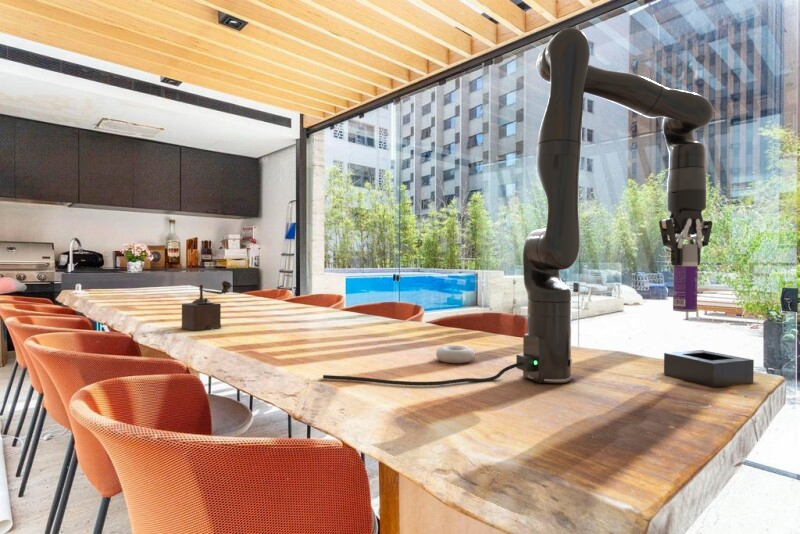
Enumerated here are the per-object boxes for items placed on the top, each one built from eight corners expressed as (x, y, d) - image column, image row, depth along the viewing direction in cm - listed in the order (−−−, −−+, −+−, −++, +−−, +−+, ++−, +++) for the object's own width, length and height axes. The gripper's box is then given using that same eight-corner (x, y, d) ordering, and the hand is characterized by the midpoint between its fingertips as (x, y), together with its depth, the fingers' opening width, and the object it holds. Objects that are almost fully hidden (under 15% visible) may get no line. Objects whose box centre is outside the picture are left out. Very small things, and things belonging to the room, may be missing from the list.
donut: (464, 367, 117) (480, 359, 126) (464, 353, 117) (480, 346, 126) (429, 362, 123) (446, 355, 131) (428, 348, 123) (446, 342, 131)
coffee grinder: (196, 331, 173) (196, 281, 173) (180, 328, 179) (180, 280, 179) (234, 326, 185) (234, 280, 185) (218, 324, 192) (218, 279, 192)
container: (700, 312, 105) (701, 244, 105) (677, 311, 106) (678, 244, 106) (692, 310, 110) (692, 244, 110) (669, 309, 111) (670, 244, 111)
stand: (713, 387, 99) (713, 363, 99) (663, 374, 110) (663, 352, 110) (753, 382, 103) (753, 359, 103) (701, 370, 114) (701, 349, 114)
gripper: (694, 193, 114) (693, 265, 114) (648, 190, 109) (647, 265, 109) (725, 189, 107) (724, 265, 107) (677, 185, 102) (676, 265, 102)
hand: (685, 265), depth 108 cm, fingers closed on container, 4 cm apart
